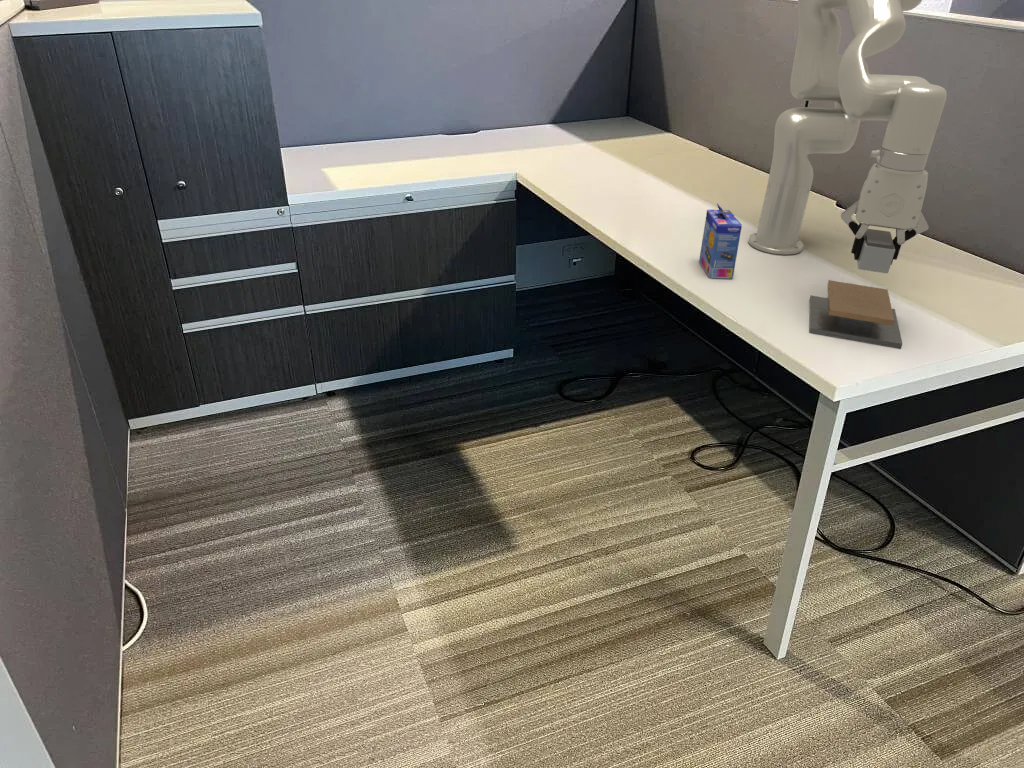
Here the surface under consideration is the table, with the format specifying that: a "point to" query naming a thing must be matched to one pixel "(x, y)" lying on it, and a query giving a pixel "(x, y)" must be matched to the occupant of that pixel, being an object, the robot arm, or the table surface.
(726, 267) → the ink cartridge box
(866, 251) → the block
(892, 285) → the table surface
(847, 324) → the cardboard on grey plate
